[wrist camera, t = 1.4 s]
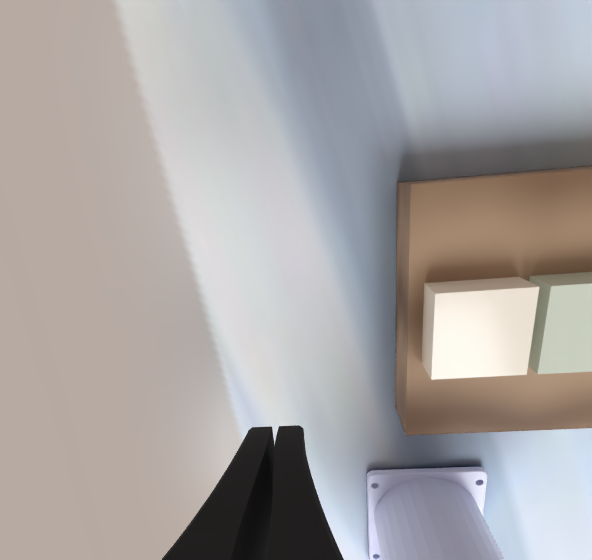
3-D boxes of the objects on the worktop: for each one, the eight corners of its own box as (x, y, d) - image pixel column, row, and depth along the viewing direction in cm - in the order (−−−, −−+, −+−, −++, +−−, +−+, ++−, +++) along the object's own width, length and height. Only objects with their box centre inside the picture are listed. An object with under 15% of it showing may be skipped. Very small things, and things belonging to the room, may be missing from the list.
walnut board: (572, 398, 21) (606, 427, 19) (395, 406, 22) (406, 435, 19) (619, 163, 17) (671, 161, 14) (396, 182, 17) (410, 184, 15)
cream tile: (508, 358, 18) (526, 375, 16) (421, 363, 18) (431, 379, 16) (519, 276, 16) (539, 287, 15) (424, 283, 16) (435, 293, 15)
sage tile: (609, 352, 17) (636, 369, 16) (518, 357, 18) (537, 374, 16) (628, 269, 16) (660, 279, 14) (530, 276, 16) (551, 286, 15)
